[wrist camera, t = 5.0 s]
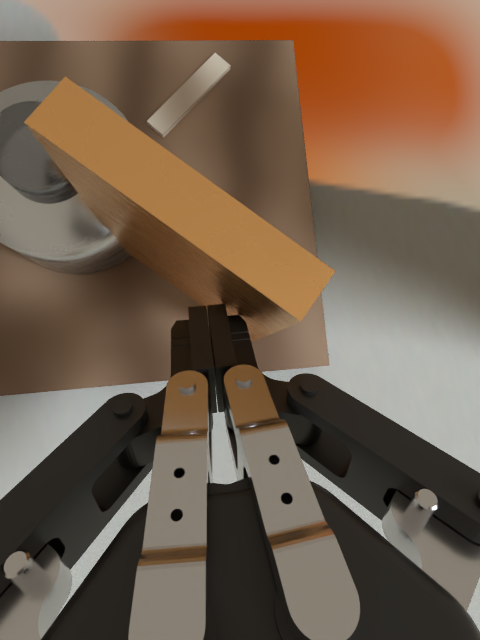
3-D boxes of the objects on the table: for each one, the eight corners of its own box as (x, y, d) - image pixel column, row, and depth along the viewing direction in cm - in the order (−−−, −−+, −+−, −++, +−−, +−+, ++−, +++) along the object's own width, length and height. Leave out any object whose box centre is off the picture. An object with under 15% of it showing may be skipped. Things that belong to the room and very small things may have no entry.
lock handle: (-29, 216, 20) (-326, 34, 9) (67, 107, 21) (-88, -175, 10) (215, 391, 20) (226, 429, 9) (298, 273, 21) (399, 177, 10)
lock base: (286, 65, 25) (293, 36, 22) (318, 365, 23) (331, 365, 20) (-31, 69, 23) (-58, 36, 20) (-28, 396, 21) (-56, 401, 18)
